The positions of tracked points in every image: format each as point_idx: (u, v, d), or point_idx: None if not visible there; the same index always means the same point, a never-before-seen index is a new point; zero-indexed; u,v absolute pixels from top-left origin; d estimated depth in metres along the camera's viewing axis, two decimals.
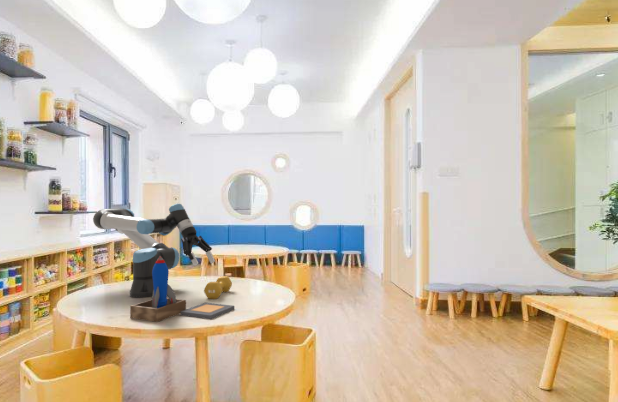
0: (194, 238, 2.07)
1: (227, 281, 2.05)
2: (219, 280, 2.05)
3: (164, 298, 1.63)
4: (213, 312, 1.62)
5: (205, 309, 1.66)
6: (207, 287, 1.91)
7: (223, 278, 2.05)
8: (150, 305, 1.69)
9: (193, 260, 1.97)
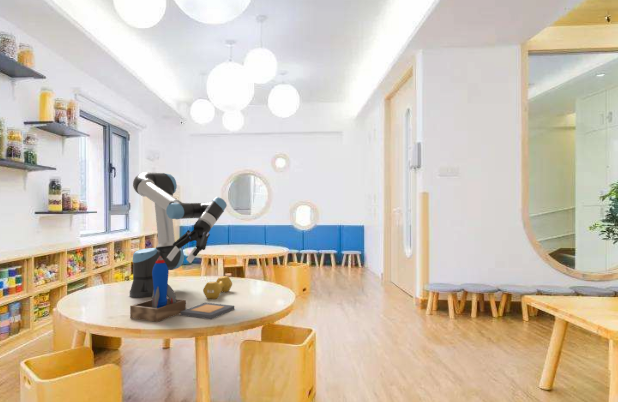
0: None
1: (227, 281, 2.05)
2: (219, 280, 2.05)
3: (164, 298, 1.63)
4: (213, 312, 1.62)
5: (205, 309, 1.66)
6: (206, 287, 1.91)
7: (223, 278, 2.05)
8: (150, 305, 1.69)
9: (192, 256, 1.71)
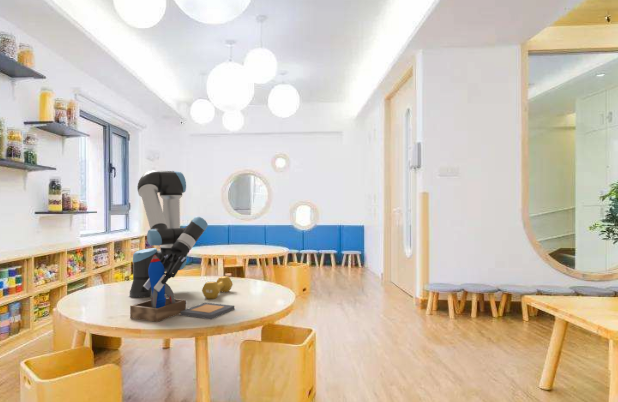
0: None
1: (227, 281, 2.05)
2: (219, 280, 2.05)
3: (162, 296, 1.63)
4: (213, 312, 1.62)
5: (205, 309, 1.66)
6: (205, 287, 1.92)
7: (223, 278, 2.05)
8: (150, 305, 1.69)
9: (160, 284, 1.61)
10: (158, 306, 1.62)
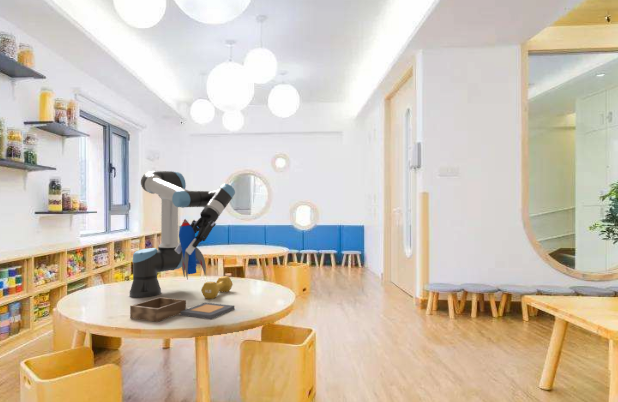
0: None
1: (227, 281, 2.05)
2: (219, 280, 2.05)
3: (193, 260, 1.64)
4: (213, 312, 1.62)
5: (205, 309, 1.66)
6: (204, 287, 1.92)
7: (223, 278, 2.05)
8: (150, 305, 1.69)
9: (192, 247, 1.62)
10: (189, 269, 1.63)
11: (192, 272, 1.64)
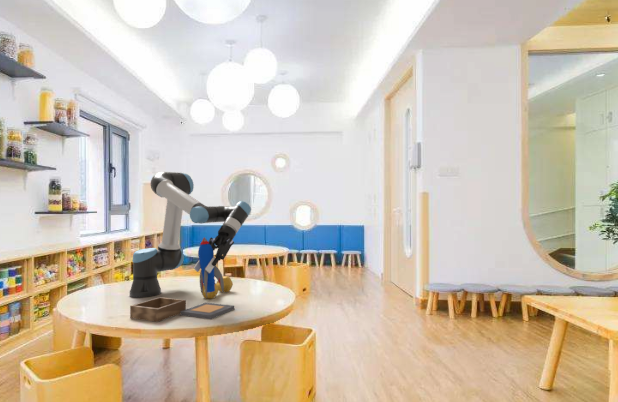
0: None
1: (227, 281, 2.05)
2: None
3: (212, 278, 1.66)
4: (213, 312, 1.62)
5: (205, 309, 1.66)
6: (203, 287, 1.92)
7: (223, 278, 2.05)
8: (150, 305, 1.69)
9: (211, 266, 1.64)
10: (208, 287, 1.65)
11: (211, 290, 1.65)
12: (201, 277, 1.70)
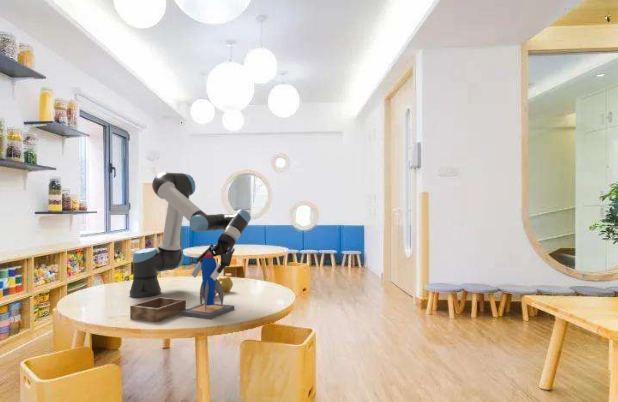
0: None
1: (227, 281, 2.04)
2: (219, 280, 2.05)
3: (213, 292, 1.67)
4: (213, 312, 1.62)
5: None
6: None
7: (223, 278, 2.05)
8: (150, 305, 1.69)
9: (216, 273, 1.64)
10: (208, 301, 1.66)
11: (210, 304, 1.66)
12: (202, 289, 1.70)
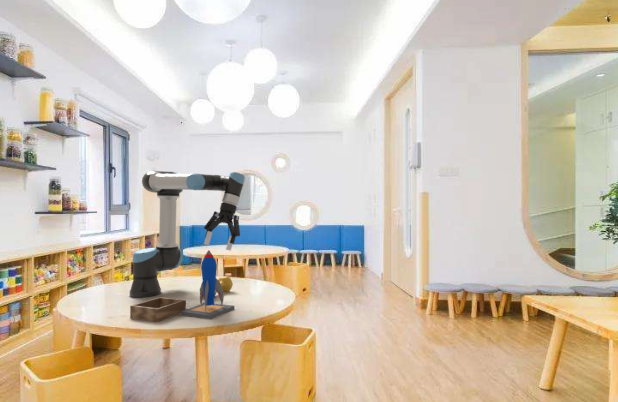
0: None
1: (227, 281, 2.04)
2: (219, 280, 2.05)
3: (213, 292, 1.67)
4: (213, 312, 1.62)
5: None
6: None
7: (223, 278, 2.05)
8: (150, 305, 1.69)
9: (230, 244, 1.80)
10: (208, 301, 1.66)
11: (210, 304, 1.66)
12: (202, 289, 1.70)
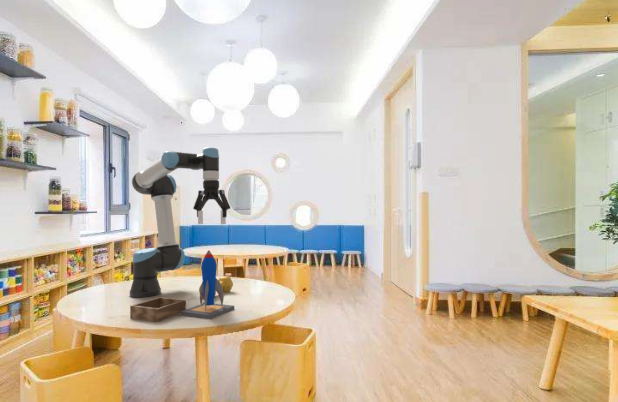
0: None
1: (227, 281, 2.04)
2: (220, 280, 2.05)
3: (213, 292, 1.67)
4: (213, 312, 1.62)
5: None
6: None
7: (223, 278, 2.05)
8: (150, 305, 1.69)
9: (223, 218, 1.85)
10: (208, 301, 1.66)
11: (210, 304, 1.66)
12: (202, 289, 1.70)
